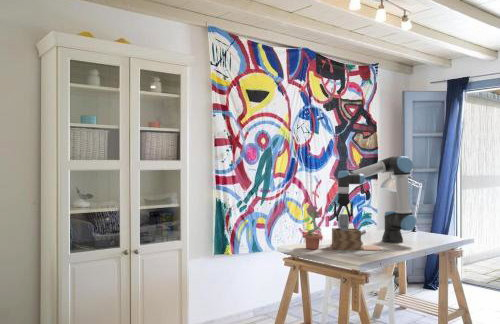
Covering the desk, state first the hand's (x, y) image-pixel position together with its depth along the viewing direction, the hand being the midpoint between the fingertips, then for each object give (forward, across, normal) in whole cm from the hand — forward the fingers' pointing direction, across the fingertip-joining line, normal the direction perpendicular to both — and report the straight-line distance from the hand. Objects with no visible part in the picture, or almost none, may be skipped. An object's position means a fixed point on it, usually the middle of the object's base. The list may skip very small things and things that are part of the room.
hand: (343, 226), depth 303 cm
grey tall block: (+12, 0, 0) cm, 12 cm away
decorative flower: (+16, +21, +3) cm, 26 cm away
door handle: (+16, -10, -19) cm, 27 cm away
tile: (+15, -19, 0) cm, 24 cm away
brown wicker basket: (+15, -2, 0) cm, 15 cm away
